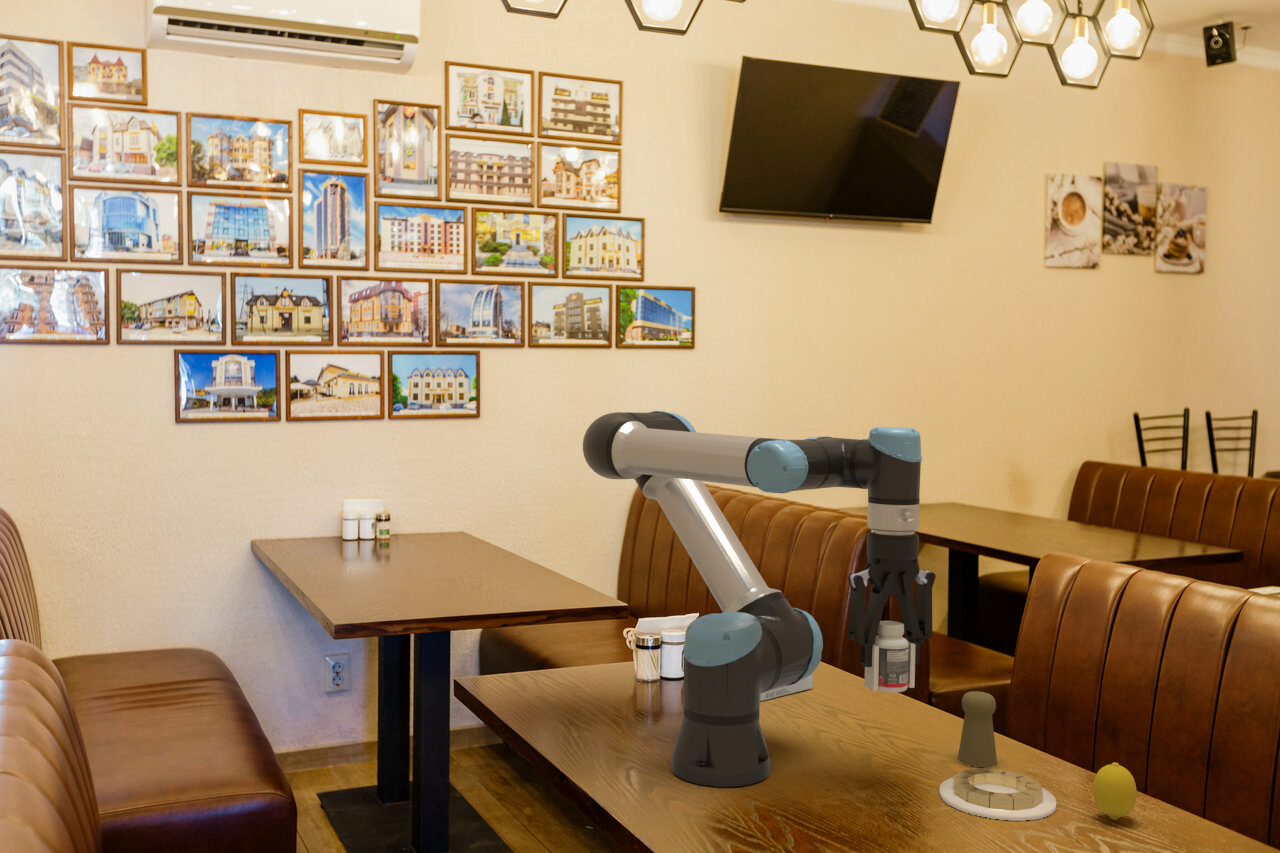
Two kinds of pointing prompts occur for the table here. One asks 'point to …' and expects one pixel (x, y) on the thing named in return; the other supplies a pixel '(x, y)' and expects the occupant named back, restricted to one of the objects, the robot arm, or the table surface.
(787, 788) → the table surface
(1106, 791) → the lemon
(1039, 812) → the coaster
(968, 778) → the collar
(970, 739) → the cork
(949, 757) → the table surface
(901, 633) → the pill bottle
